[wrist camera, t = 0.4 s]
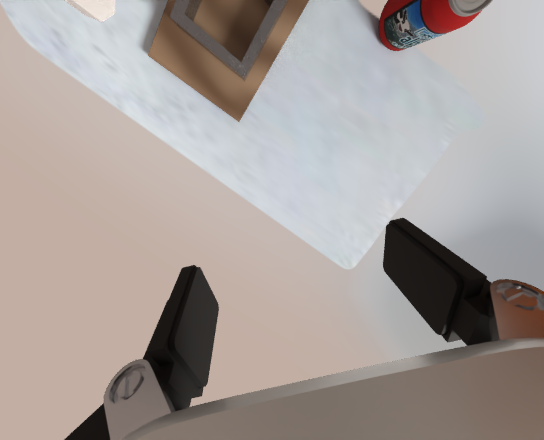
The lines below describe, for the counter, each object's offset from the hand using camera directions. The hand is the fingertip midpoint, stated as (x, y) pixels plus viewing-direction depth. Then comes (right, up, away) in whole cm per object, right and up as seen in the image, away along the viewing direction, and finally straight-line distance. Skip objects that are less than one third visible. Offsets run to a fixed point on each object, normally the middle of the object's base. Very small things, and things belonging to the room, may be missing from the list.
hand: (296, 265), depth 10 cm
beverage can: (+17, +31, +20) cm, 40 cm away
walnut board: (-6, +29, +18) cm, 35 cm away
